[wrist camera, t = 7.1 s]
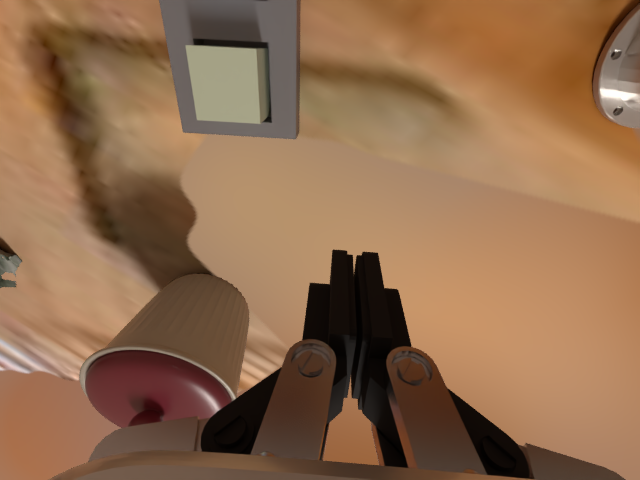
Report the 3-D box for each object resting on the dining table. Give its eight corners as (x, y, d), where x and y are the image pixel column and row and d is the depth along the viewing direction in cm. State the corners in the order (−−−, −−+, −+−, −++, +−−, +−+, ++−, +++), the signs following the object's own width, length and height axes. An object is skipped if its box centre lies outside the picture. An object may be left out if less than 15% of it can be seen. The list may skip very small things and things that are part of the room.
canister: (224, 237, 44) (143, 370, 26) (286, 322, 52) (258, 468, 34) (128, 277, 48) (5, 412, 31) (199, 349, 57) (135, 489, 39)
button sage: (267, 48, 30) (256, 49, 26) (270, 113, 34) (260, 123, 29) (206, 45, 31) (185, 45, 26) (215, 110, 34) (197, 120, 30)
